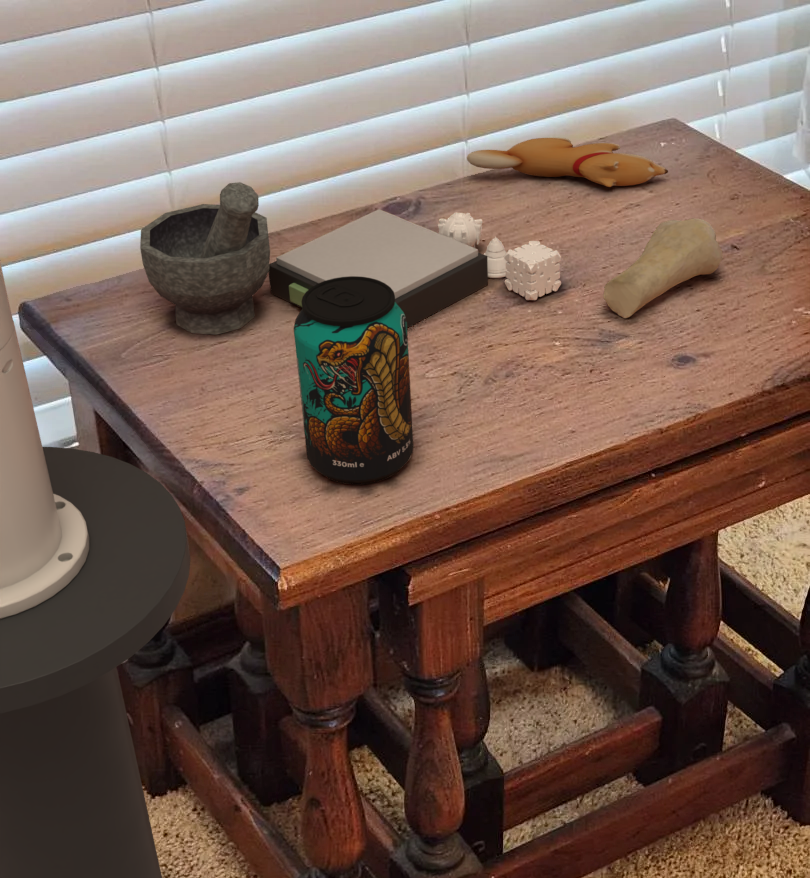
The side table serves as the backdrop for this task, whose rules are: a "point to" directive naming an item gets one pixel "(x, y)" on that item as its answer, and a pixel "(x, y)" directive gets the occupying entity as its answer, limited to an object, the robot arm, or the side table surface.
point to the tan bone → (665, 264)
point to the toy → (570, 161)
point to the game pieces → (509, 258)
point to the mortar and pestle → (209, 260)
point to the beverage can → (354, 380)
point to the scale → (385, 264)
